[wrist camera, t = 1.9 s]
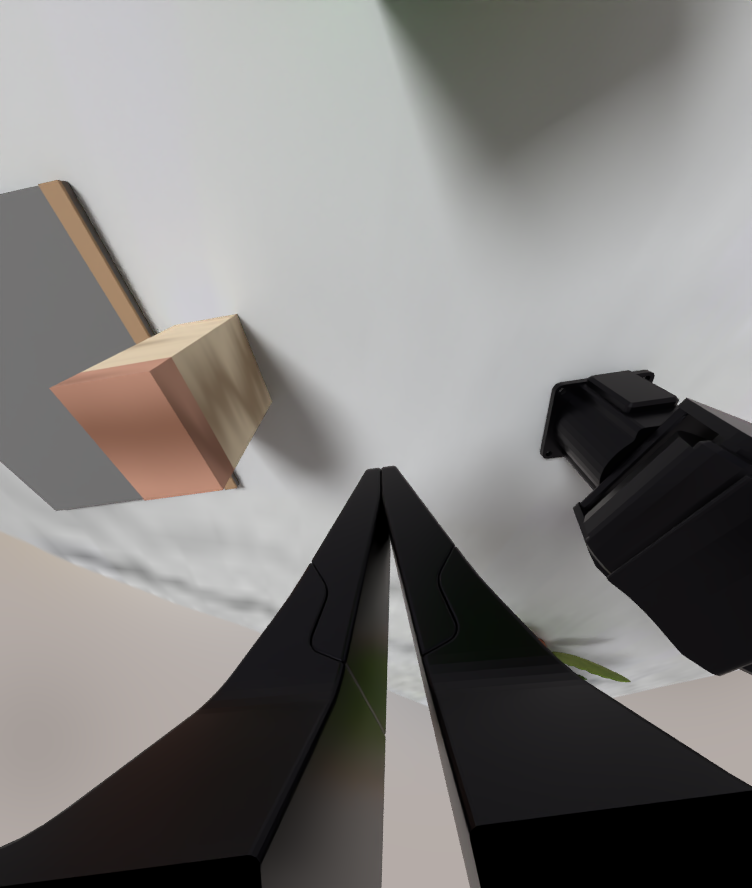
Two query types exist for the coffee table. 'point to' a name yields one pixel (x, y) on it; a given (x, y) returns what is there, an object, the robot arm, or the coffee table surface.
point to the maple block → (173, 407)
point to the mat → (58, 343)
